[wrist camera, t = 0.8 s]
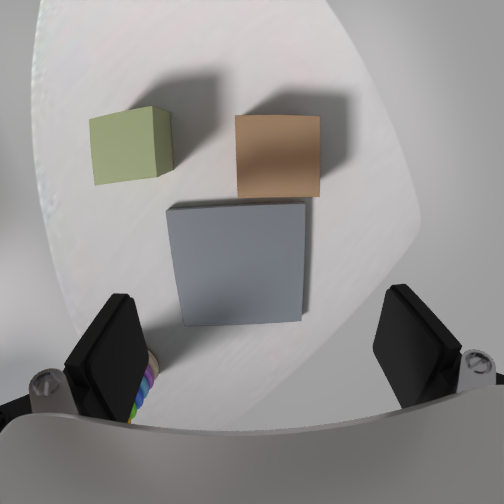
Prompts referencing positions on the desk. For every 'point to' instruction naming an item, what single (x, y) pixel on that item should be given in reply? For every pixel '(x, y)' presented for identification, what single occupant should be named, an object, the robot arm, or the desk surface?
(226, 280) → the baseplate
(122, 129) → the olive block
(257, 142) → the walnut block
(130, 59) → the desk surface
